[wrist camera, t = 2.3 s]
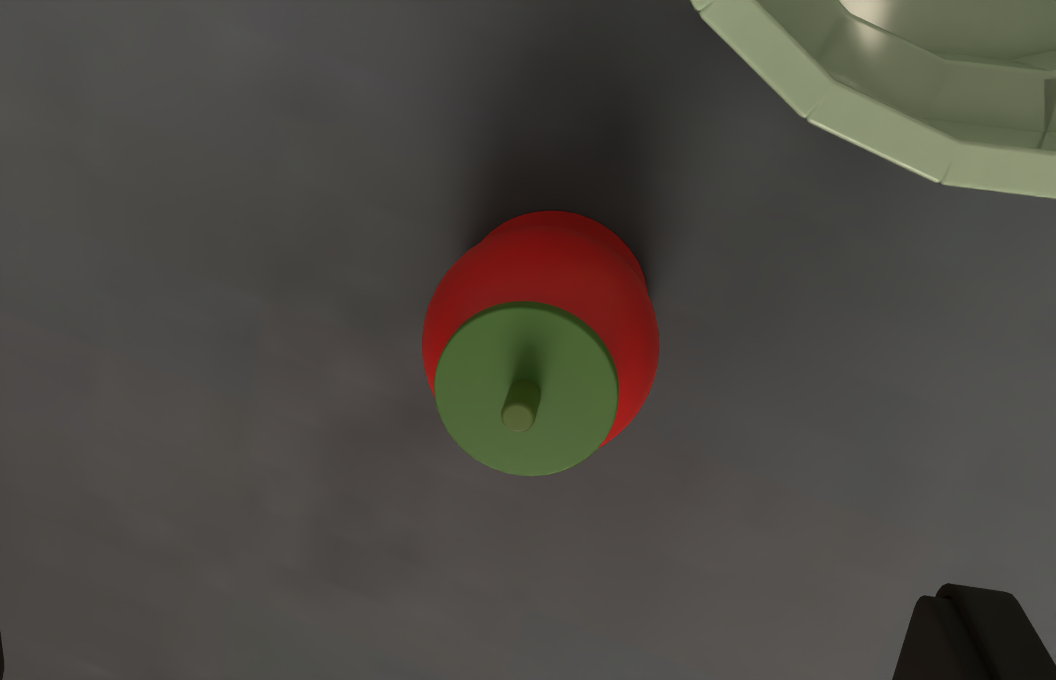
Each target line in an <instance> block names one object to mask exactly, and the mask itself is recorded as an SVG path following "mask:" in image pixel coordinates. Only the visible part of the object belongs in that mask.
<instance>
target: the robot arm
mask: <svg viewBox="0 0 1056 680" xmlns="http://www.w3.org/2000/svg"><path fill="white" fill-rule="evenodd" d="M3 672H4V657H3V649H2V641H1V634H0V680H2V678H3ZM892 680H1056V665H1055V663H1054V662H1053V660H1052V658H1051V657H1050V655H1049V653H1048V651H1047V650H1046V648H1045V646H1044V645H1043V643H1042V641H1041V640H1040V638H1039V636H1038V634H1037V633H1036V631H1035V629H1034V628H1033V626H1032V624H1031V623H1030V621H1029V619H1028V618H1027V616H1026V614H1025V612H1024V611H1023V609H1022V607H1021V606H1020V604H1019V602H1018V601H1017V600H1016V598H1015V597H1014V596H1013V595H1012V594H1010V593H1007V592H1003V591H996V590H989V589H983V588H976V587H969V586H963V585H956V584H949V583H947V584H945V585H943V586H942V587H941V588H940V589H939V590H938V592H937V594H936V596H935V597H931V596H925V595H924V596H922V597H920V598H919V600H918V601H917V603H916V605H915V608H914V610H913V614H912V617H911V620H910V623H909V627H908V630H907V633H906V636H905V640H904V643H903V646H902V649H901V653H900V656H899V659H898V663H897V666H896V669H895V672H894V676H893V679H892Z"/></svg>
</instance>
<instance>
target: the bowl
mask: <svg viewBox="0 0 1056 680" xmlns="http://www.w3.org/2000/svg"><path fill="white" fill-rule="evenodd" d="M688 1H689V3H690V4H691V6H692V7H693V8H694V10H695V11H696V12H697V13H698V14H699V16H700V17H701V18H702V19H703V20H704V21H705V22H706V23H707V24H708V25H709V26H710V27H711V28H712V29H713V30H714V31H715V32H716V33H717V34H718V35H719V36H720V37H721V38H722V39H723V40H724V41H725V42H726V43H727V44H728V45H729V46H730V47H731V48H732V49H733V50H734V51H735V52H736V53H737V54H738V55H739V56H740V57H741V58H742V59H743V60H744V61H745V62H746V63H747V64H748V65H749V66H750V67H751V68H752V69H753V70H754V71H755V72H756V73H757V74H758V75H759V76H760V77H761V78H762V79H763V80H764V81H765V82H766V83H767V84H768V85H769V86H770V87H771V88H772V89H773V90H774V91H775V92H776V93H777V94H778V95H779V96H780V97H781V98H782V99H783V100H784V101H785V102H786V103H787V104H788V105H789V106H790V107H791V108H792V109H793V110H794V111H795V112H796V113H797V114H798V115H799V116H800V117H803V118H805V119H806V120H807V121H808V122H809V123H811V124H813V125H815V126H817V127H819V128H821V129H823V130H825V131H827V132H829V133H832V134H834V135H836V136H838V137H840V138H842V139H844V140H846V141H848V142H850V143H853V144H855V145H857V146H859V147H861V148H863V149H865V150H867V151H869V152H871V153H874V154H876V155H878V156H880V157H882V158H884V159H886V160H888V161H890V162H892V163H895V164H897V165H899V166H901V167H903V168H905V169H907V170H909V171H911V172H913V173H915V174H918V175H920V176H922V177H924V178H926V179H928V180H930V181H932V182H934V183H939V182H940V183H942V184H943V185H946V186H954V187H962V188H970V189H978V190H986V191H994V192H1002V193H1011V194H1019V195H1027V196H1035V197H1043V198H1051V199H1056V0H688Z"/></svg>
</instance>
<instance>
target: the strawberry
mask: <svg viewBox="0 0 1056 680" xmlns="http://www.w3.org/2000/svg"><path fill="white" fill-rule="evenodd" d="M658 354H659V333H658V327H657V322H656V317H655V312H654V309H653V306H652V303H651V300H650V298H649V296H648V292H647V287H646V281H645V278H644V275H643V272H642V269H641V267H640V265H639V263H638V261H637V259H636V258H635V256H634V255H633V253H632V252H631V250H630V249H629V248H628V246H627V245H626V244H625V243H624V242H623V241H622V240H621V239H620V238H619V237H618V236H617V235H616V234H614V233H613V232H612V231H611V230H609V229H608V228H606V227H605V226H603V225H602V224H600V223H598V222H596V221H594V220H592V219H590V218H587V217H584V216H581V215H578V214H575V213H570V212H565V211H538V212H532V213H527V214H524V215H521V216H518V217H515V218H513V219H511V220H509V221H507V222H505V223H503V224H501V225H500V226H498V227H497V228H495V229H494V230H493V231H491V232H490V233H489V234H488V235H487V236H486V237H485V238H484V239H483V240H482V241H481V242H480V243H479V244H477V245H476V246H474V247H473V248H471V249H470V250H468V251H467V252H466V253H465V254H464V255H463V256H462V257H460V258H459V259H458V260H457V261H456V262H455V263H454V264H453V265H452V267H451V268H450V269H449V270H448V271H447V272H446V274H445V275H444V276H443V278H442V280H441V281H440V283H439V284H438V286H437V288H436V290H435V292H434V294H433V296H432V299H431V301H430V303H429V306H428V309H427V312H426V316H425V319H424V327H423V334H422V356H423V363H424V369H425V373H426V376H427V380H428V383H429V386H430V389H431V391H432V393H433V396H434V398H435V403H436V406H437V410H438V413H439V415H440V418H441V420H442V422H443V424H444V426H445V428H446V429H447V431H448V433H449V434H450V436H451V437H452V438H453V439H454V441H455V442H456V443H457V444H458V445H459V446H460V447H461V448H462V449H463V450H464V451H465V452H466V453H468V454H469V455H470V456H471V457H473V458H474V459H476V460H478V461H479V462H481V463H482V464H484V465H487V466H489V467H491V468H493V469H496V470H499V471H502V472H505V473H509V474H514V475H522V476H541V475H548V474H553V473H557V472H561V471H563V470H566V469H568V468H571V467H573V466H575V465H577V464H578V463H580V462H582V461H583V460H585V459H586V458H587V457H589V456H590V455H591V454H592V453H593V452H594V451H595V450H596V449H597V448H599V447H601V446H603V445H605V444H606V443H607V442H609V441H610V440H611V439H613V438H614V437H615V436H616V435H618V434H619V433H620V432H621V431H622V430H623V429H624V428H625V427H626V426H627V425H628V424H629V423H630V422H631V421H632V419H633V418H634V417H635V415H636V414H637V413H638V411H639V410H640V408H641V406H642V404H643V403H644V401H645V399H646V397H647V396H648V394H649V391H650V389H651V386H652V383H653V381H654V377H655V373H656V368H657V363H658Z"/></svg>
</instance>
